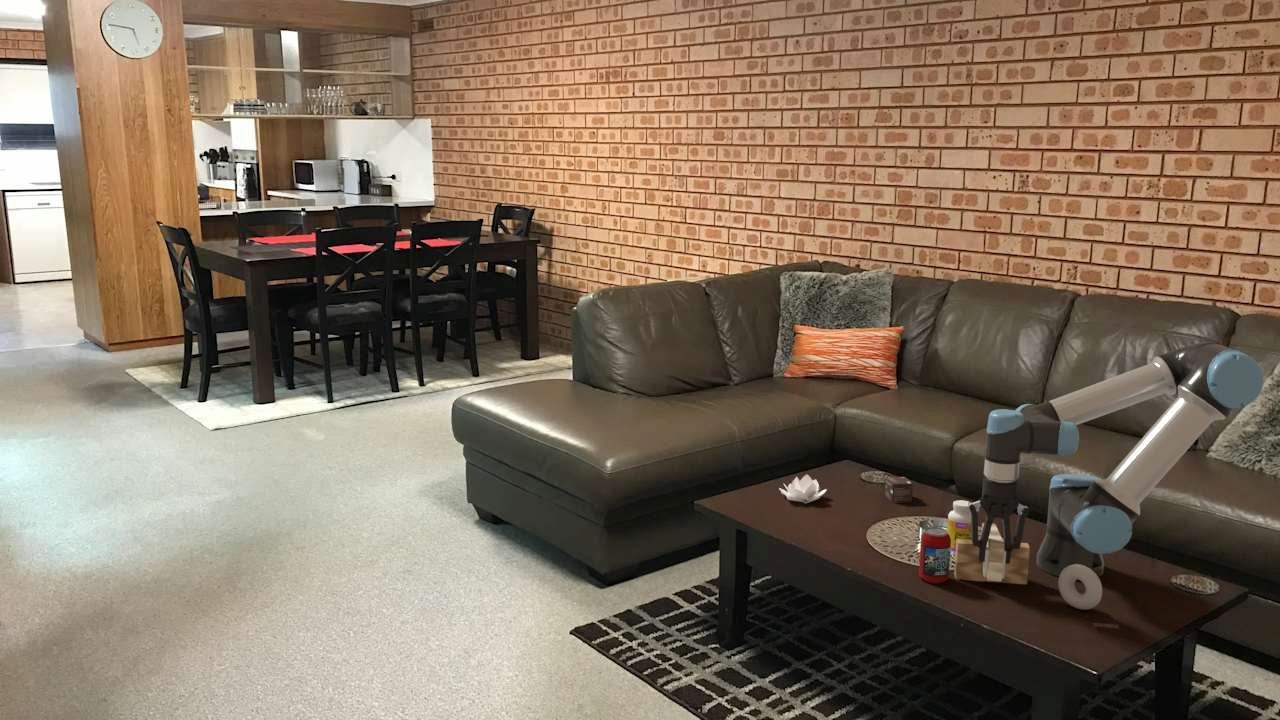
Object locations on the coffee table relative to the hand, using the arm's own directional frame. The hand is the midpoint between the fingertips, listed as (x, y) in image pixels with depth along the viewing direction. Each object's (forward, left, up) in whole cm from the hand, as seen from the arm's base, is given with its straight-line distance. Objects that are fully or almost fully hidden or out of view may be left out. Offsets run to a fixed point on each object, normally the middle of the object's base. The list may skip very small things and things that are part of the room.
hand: (993, 575), depth 242 cm
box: (+18, -57, -3) cm, 59 cm away
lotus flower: (+45, -51, -3) cm, 68 cm away
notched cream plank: (0, -4, 0) cm, 4 cm away
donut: (-17, +9, -3) cm, 19 cm away
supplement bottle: (+5, -22, -3) cm, 22 cm away
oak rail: (0, -5, -3) cm, 5 cm away
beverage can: (+13, -2, -3) cm, 13 cm away
